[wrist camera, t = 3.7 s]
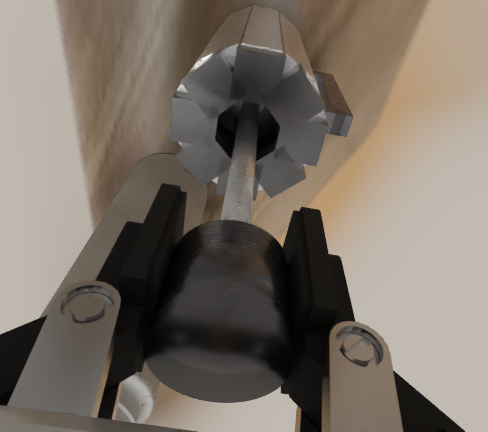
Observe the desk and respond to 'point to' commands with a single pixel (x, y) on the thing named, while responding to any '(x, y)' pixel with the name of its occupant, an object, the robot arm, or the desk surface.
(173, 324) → the plunger
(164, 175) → the thermos bottle
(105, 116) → the desk surface
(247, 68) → the press pot
